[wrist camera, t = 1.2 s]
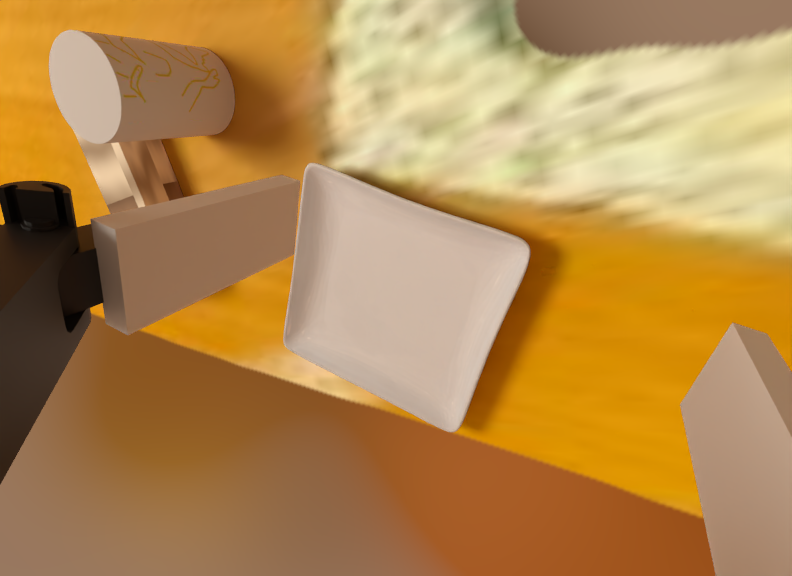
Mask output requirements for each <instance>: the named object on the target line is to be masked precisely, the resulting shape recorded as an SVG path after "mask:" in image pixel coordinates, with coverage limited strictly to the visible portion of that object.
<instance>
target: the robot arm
mask: <svg viewBox="0 0 792 576" xmlns="http://www.w3.org/2000/svg"><path fill="white" fill-rule="evenodd" d="M299 189H300V181H299V180H296V179H293V178H290V177H287V176H284V175H279V176H275V177H270V178H266V179H262V180H257V181H253V182H249V183H244V184H240V185H236V186H231V187H227V188H223V189H218V190H214V191H210V192H205V193H201V194H197V195H192V196H188V197H184V198H179V199H175V200H171V201H166V202H162V203H158V204H153V205H149V206H145V207H140V208H136V209H132V210H127V211H123V212H119V213H114V214H110V215H106V216H101V217H97V218H93V219H91V224H89V225H85V226H81V227H77V226H76V220H75V214H74V208H73V202H72V196H71V190H70V189H69V188H68V187H67V186H65V185H62V184H59V183H53V182H46V181H22V182H13V183H8V184H4V185H1V186H0V204H1V208H2V212H3V216H4V220H5V224H4V225H0V484H1V482H2V480H3V479H4V477H5V475H6V473H7V471H8V470H9V468H10V466H11V464H12V462H13V460H14V459H15V457H16V455H17V453H18V452H19V450H20V448H21V446H22V444H23V443H24V441H25V439H26V437H27V435H28V434H29V432H30V430H31V428H32V426H33V424H34V423H35V421H36V419H37V417H38V416H39V414H40V412H41V410H42V409H43V407H44V405H45V403H46V401H47V399H48V398H49V396H50V394H51V392H52V391H53V389H54V387H55V385H56V383H57V382H58V380H59V378H60V376H61V374H62V373H63V371H64V369H65V367H66V365H67V364H68V362H69V360H70V358H71V356H72V354H73V353H74V351H75V349H76V347H77V346H78V344H79V342H80V340H81V338H82V337H83V335H84V333H85V331H86V329H87V327H88V326H89V324H90V322H91V312H90V307H93V306H95V305H98V304H100V303H103V308H104V314H105V321H106V324H107V325H109V326H111V327H113V328H115V329H117V330H119V331H121V332H123V333H125V334H126V335H129V334H132V333H133V332H136V331H138V330H140V329H142V328H144V327H146V326H148V325H150V324H152V323H154V322H156V321H158V320H160V319H162V318H164V317H166V316H169V315H171V314H173V313H175V312H177V311H179V310H181V309H183V308H185V307H187V306H189V305H191V304H193V303H195V302H197V301H199V300H201V299H203V298H206V297H208V296H210V295H212V294H214V293H216V292H218V291H220V290H222V289H224V288H226V287H228V286H230V285H232V284H234V283H236V282H238V281H240V280H243V279H245V278H247V277H249V276H251V275H253V274H255V273H257V272H259V271H261V270H263V269H265V268H267V267H269V266H271V265H273V264H275V263H277V262H280V261H282V260H284V259H286V258H288V257H290V256H292V255H294V249H295V237H296V225H297V213H298V201H299ZM680 406H681V411H682V416H683V420H684V425H685V430H686V435H687V440H688V444H689V449H690V454H691V459H692V464H693V468H694V473H695V478H696V483H697V488H698V492H699V497H700V502H701V507H702V512H703V516H704V521H705V526H706V531H707V536H708V540H709V545H710V550H711V555H712V560H713V564H714V569H715V574H716V576H792V372H791V371H790V369H789V367H788V366H787V364H786V363H785V361H784V360H783V358H782V356H781V355H780V353H779V352H778V350H777V349H776V347H775V345H774V344H773V342H772V341H771V339H770V338H769V336H768V335H767V334H766V333H763V332H760V331H757V330H754V329H751V328H748V327H744V326H741V325H738V324H735V323H732V324H731V326H730V327H729V329H728V330H727V332H726V333H725V335H724V337H723V338H722V340H721V341H720V343H719V344H718V346H717V348H716V349H715V351H714V352H713V354H712V355H711V357H710V359H709V360H708V362H707V363H706V365H705V366H704V368H703V369H702V371H701V373H700V374H699V376H698V377H697V379H696V380H695V382H694V384H693V385H692V387H691V388H690V390H689V391H688V393H687V395H686V396H685V398H684V399H683V401H682V402H681V404H680Z"/></svg>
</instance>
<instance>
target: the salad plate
mask: <svg viewBox="0 0 792 576" xmlns="http://www.w3.org/2000/svg"><path fill="white" fill-rule="evenodd" d="M530 254H531V250H530V247H529V245H528V243H527V242H526V241H525V240H523V239H522V238H520V237H517V236H515V235H512V234H510V233H507V232H504V231H501V230H498V229H495V228H492V227H489V226H486V225H483V224H480V223H476V222H473V221H470V220H467V219H463V218H460V217H457V216H454V215H451V214H448V213H445V212H442V211H439V210H436V209H433V208H430V207H427V206H424V205H421V204H418V203H416V202H413V201H410V200H407V199H405V198H402V197H399V196H397V195H394V194H392V193H389V192H387V191H384V190H382V189H380V188H377V187H375V186H372V185H370V184H367V183H365V182H363V181H360V180H358V179H356V178H353V177H351V176H349V175H346V174H344V173H342V172H339V171H337V170H334V169H332V168H329V167H327V166H324V165H321V164H317V163H309V164H308V165H307V166H306V168H305V172H304V179H303V186H302V195H301V204H300V213H299V222H298V231H297V240H296V249H295V257H294V265H293V273H292V281H291V288H290V294H289V300H288V307H287V313H286V320H285V327H284V338H283V341H284V345H285V346H286V348H287V349H289V350H290V351H292V352H293V353H295V354H297V355H299V356H301V357H302V358H304V359H306V360H308V361H310V362H312V363H314V364H316V365H318V366H320V367H321V368H323V369H325V370H327V371H329V372H331V373H333V374H335V375H337V376H339V377H341V378H343V379H345V380H347V381H349V382H351V383H353V384H355V385H357V386H359V387H361V388H363V389H365V390H367V391H369V392H370V393H372V394H374V395H376V396H378V397H380V398H382V399H384V400H386V401H388V402H390V403H392V404H394V405H396V406H398V407H400V408H401V409H403V410H405V411H407V412H409V413H411V414H413V415H415V416H417V417H419V418H420V419H422V420H424V421H426V422H428V423H430V424H432V425H434V426H436V427H438V428H440V429H443V430H445V431H448V432H455V431H457V430H458V429H459V428H460V426H461V424H462V422H463V420H464V418H465V416H466V413H467V411H468V408H469V405H470V402H471V400H472V397H473V394H474V392H475V389H476V386H477V384H478V381H479V378H480V376H481V373H482V371H483V368H484V365H485V363H486V360H487V358H488V355H489V352H490V350H491V348H492V346H493V343H494V341H495V339H496V336H497V334H498V332H499V329H500V327H501V325H502V323H503V321H504V318H505V316H506V314H507V312H508V310H509V307H510V305H511V303H512V301H513V299H514V297H515V295H516V292H517V290H518V288H519V286H520V284H521V282H522V280H523V277H524V275H525V272H526V269H527V267H528V263H529V260H530Z"/></svg>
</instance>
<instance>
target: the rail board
mask: <svg viewBox="0 0 792 576" xmlns="http://www.w3.org/2000/svg"><path fill="white" fill-rule="evenodd" d="M74 132H75V131H74ZM75 135H76V137H77V139H78V141H79V144H80V146H81V148H82V150H83V152H84V155H85V157H86V159H87V161H88V164H89V166H90V168H91V170H92V173H93V175H94V177H95V179H96V182H97V184H98V186H99V188H100V191H101V193H102V195H103V197H104V199H105V202H106V204H107V206H108V208H109V211H110V213H111V214H114V213H119V212H123V211H127V210H132V209H136V208H140V207H145V206H149V205H153V204H158V203H162V202H166V201H171V200H175V199H179V198H184V196H183V194H182V191H181V189H180V186H179V184H178V181H177V179H176V176H175V174H174V171H173V169H172V166H171V164H170V161H169V159H168V156H167V154H166V151H165V149H164V146H163V144H162V141H161V139H155V140H143V141H130V142H117V143H104V144H95V143H91V142H89V141H87V140H85V139H83V138H82V137H81V136H79V135H78V134H77V133H76V132H75Z"/></svg>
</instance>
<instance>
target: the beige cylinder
mask: <svg viewBox="0 0 792 576" xmlns="http://www.w3.org/2000/svg"><path fill="white" fill-rule="evenodd" d="M49 74H50V81H51V86H52V90H53V94H54V97H55V99H56V102H57V104H58V107H59V109H60V111H61V113H62V115H63V116H64V118H65V120H66V121H67V122H68V124H69V125H70V126H71V128H72V129H73V130H74V131H75V132H76V133H77V134H78V135H79V136H81V137H82V138H83V139H85V140H87V141H89V142H91V143H95V144H104V143H117V142H130V141H143V140H155V139H168V138H181V137H194V136H206V135H215V134H218V133H220V132H222V131H223V130H225V129H226V127H227V126H228V125H229V123H230V121H231V119H232V117H233V113H234V108H235V92H234V87H233V82H232V79H231V76H230V74H229V72H228V70H227V68H226V66H225V65H224V63H223V62H222V61H221V59H220V58H219V57H218V56H217V55H216V54H214V53H213V52H212V51H210V50H208V49H206V48H202V47H195V46H187V45H180V44H173V43H165V42H158V41H151V40H143V39H136V38H129V37H121V36H114V35H106V34H99V33H92V32H84V31H77V30H67V31H64V32H62V33H61V34H60V35H59V36H58V37H57V38H56V39H55V41H54V43H53V45H52V48H51V52H50V57H49Z"/></svg>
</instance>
